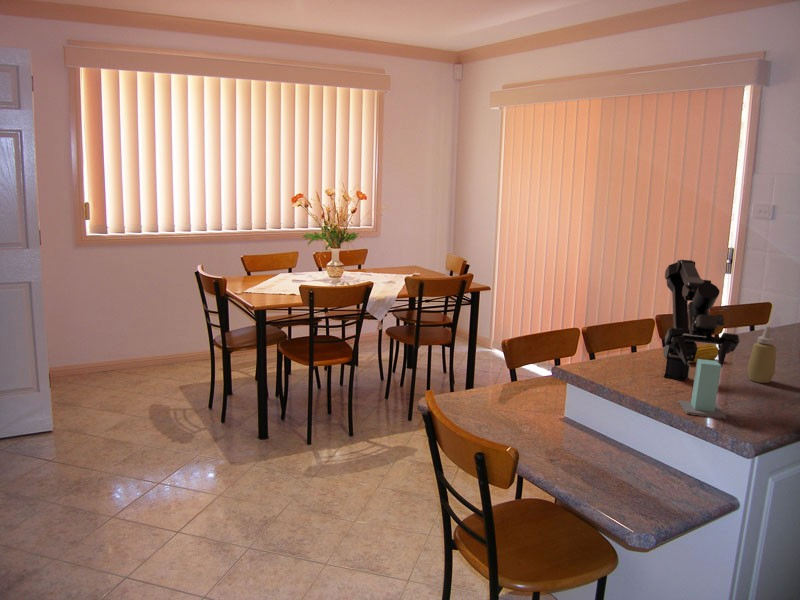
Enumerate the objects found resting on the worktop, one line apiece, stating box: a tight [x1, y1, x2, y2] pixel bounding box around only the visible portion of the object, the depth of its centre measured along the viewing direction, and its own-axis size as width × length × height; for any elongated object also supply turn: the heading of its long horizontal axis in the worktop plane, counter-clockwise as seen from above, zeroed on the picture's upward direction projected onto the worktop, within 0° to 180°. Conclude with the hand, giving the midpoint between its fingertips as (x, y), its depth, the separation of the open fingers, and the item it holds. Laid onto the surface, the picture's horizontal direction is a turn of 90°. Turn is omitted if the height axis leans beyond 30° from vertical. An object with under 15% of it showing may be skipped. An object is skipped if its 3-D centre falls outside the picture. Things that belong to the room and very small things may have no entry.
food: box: [689, 343, 719, 364], centre depth 237 cm, size 21×6×6 cm, turn 122°
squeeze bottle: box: [747, 326, 777, 384], centre depth 216 cm, size 8×8×18 cm
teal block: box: [690, 359, 722, 412], centre depth 182 cm, size 5×5×13 cm
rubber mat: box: [678, 399, 727, 420], centre depth 184 cm, size 10×10×1 cm
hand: (703, 365), depth 186 cm, fingers open, 9 cm apart
